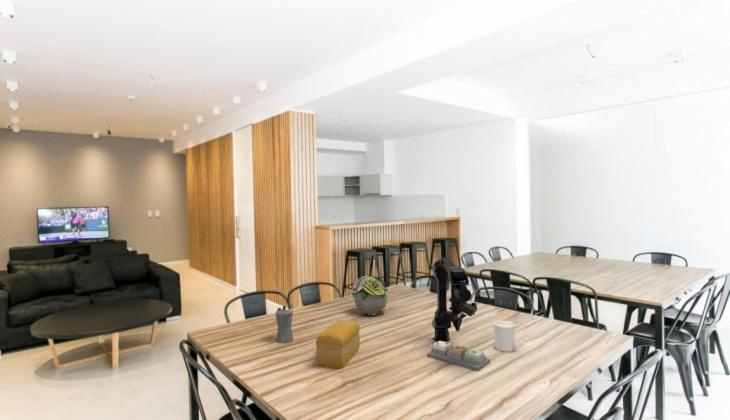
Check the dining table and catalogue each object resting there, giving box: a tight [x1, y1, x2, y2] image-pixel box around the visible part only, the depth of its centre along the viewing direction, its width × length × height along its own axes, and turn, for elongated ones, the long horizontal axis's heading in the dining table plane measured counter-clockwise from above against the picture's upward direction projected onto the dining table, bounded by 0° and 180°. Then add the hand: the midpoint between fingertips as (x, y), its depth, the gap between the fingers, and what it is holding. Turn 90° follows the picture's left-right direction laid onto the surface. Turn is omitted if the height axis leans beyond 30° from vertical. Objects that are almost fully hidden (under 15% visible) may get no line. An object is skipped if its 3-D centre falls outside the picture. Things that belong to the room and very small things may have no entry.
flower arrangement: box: [350, 275, 389, 316], centre depth 253 cm, size 25×25×24 cm
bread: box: [315, 319, 361, 370], centre depth 183 cm, size 24×13×15 cm, turn 162°
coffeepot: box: [275, 305, 294, 344], centre depth 208 cm, size 15×9×18 cm, turn 33°
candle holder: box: [493, 320, 516, 353], centre depth 191 cm, size 10×10×12 cm
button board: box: [426, 346, 491, 372], centre depth 179 cm, size 25×12×4 cm, turn 49°
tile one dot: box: [465, 348, 485, 360], centre depth 173 cm, size 6×6×3 cm
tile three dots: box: [449, 344, 468, 356], centre depth 179 cm, size 6×6×3 cm
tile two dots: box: [432, 341, 452, 351], centre depth 184 cm, size 6×6×3 cm
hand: (457, 330), depth 178 cm, fingers closed
